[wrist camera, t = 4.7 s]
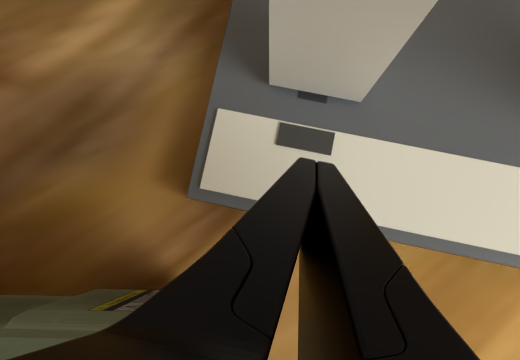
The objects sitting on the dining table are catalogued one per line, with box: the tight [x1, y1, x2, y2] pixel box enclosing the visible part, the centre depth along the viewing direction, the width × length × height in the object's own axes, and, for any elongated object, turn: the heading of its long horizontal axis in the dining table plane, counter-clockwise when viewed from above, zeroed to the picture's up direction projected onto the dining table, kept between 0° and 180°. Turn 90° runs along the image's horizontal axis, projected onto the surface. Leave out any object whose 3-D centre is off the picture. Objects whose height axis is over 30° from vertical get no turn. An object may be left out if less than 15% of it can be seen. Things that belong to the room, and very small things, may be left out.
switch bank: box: [187, 0, 520, 268], centre depth 16 cm, size 14×22×2 cm, turn 78°
